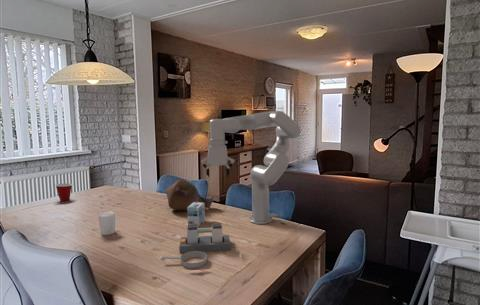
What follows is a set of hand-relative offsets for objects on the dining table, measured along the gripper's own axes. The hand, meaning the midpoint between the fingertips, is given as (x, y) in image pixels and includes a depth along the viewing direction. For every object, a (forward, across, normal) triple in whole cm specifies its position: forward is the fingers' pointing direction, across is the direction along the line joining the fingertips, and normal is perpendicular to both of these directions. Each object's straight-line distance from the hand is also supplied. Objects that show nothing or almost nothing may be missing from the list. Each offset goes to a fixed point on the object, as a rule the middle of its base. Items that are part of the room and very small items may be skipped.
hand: (217, 176), depth 161 cm
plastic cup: (+28, +107, -70) cm, 131 cm away
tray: (+28, +7, +10) cm, 31 cm away
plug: (+27, +2, +24) cm, 36 cm away
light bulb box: (+29, +12, -10) cm, 33 cm away
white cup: (+28, +57, -2) cm, 64 cm away
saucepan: (+29, +15, +38) cm, 50 cm away
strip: (+28, +7, +24) cm, 38 cm away
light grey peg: (+27, +12, +24) cm, 38 cm away
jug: (+29, +17, -36) cm, 49 cm away
